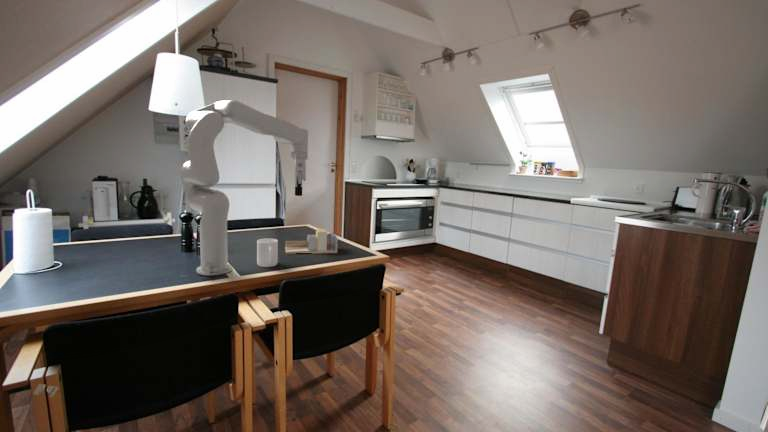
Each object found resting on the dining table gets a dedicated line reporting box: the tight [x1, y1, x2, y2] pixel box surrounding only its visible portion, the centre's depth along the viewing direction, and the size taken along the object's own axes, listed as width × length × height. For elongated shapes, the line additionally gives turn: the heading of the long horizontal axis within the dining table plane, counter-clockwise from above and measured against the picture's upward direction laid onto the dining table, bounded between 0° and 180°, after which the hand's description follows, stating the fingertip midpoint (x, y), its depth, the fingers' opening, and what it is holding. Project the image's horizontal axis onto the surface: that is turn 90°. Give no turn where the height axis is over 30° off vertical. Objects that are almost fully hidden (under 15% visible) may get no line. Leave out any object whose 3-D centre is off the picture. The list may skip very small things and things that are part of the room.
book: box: [315, 228, 328, 251], centre depth 177 cm, size 7×4×9 cm, turn 18°
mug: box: [256, 237, 279, 268], centre depth 151 cm, size 12×8×10 cm
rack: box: [284, 232, 339, 255], centre depth 177 cm, size 9×24×8 cm, turn 108°
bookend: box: [306, 234, 317, 250], centre depth 177 cm, size 6×4×6 cm, turn 18°
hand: (298, 195), depth 171 cm, fingers closed
